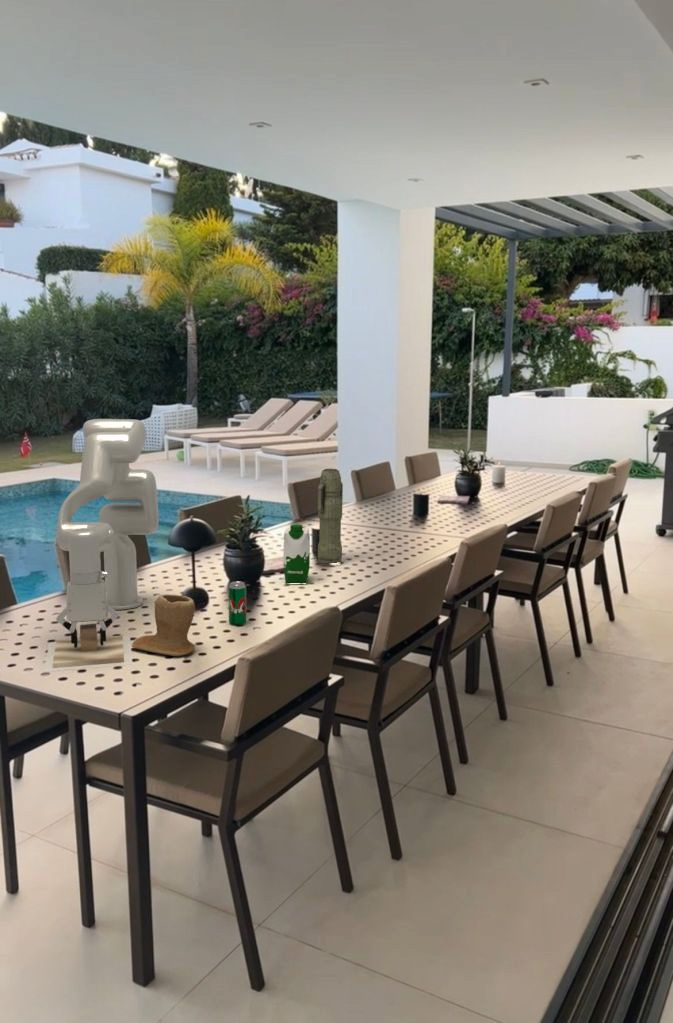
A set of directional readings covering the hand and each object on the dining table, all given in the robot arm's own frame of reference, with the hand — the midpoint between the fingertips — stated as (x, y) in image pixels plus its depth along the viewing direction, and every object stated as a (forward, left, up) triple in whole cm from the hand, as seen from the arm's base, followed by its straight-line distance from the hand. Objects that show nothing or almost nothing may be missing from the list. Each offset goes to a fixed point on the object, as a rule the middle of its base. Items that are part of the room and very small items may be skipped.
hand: (89, 644), depth 221 cm
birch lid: (0, 0, -2) cm, 2 cm away
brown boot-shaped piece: (+1, +20, -3) cm, 20 cm away
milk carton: (-56, +67, -3) cm, 87 cm away
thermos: (-77, +84, -3) cm, 114 cm away
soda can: (-17, +41, -3) cm, 45 cm away
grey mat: (0, 0, -3) cm, 3 cm away
